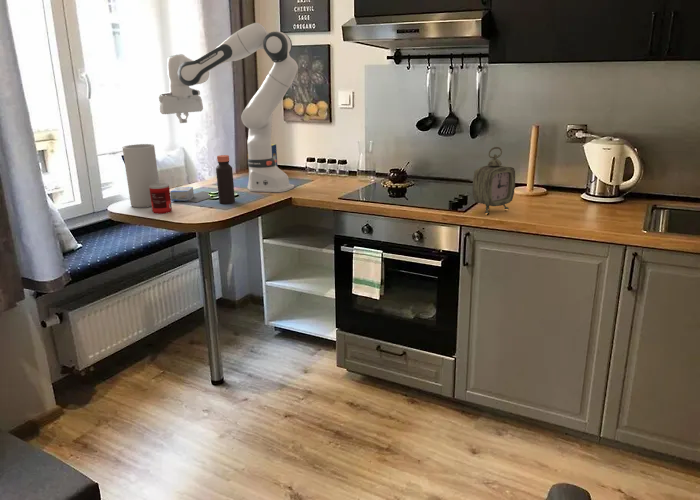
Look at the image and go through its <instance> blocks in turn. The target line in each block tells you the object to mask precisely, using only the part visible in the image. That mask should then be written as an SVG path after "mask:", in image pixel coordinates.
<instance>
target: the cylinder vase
mask: <svg viewBox="0 0 700 500" xmlns="http://www.w3.org/2000/svg"><path fill="white" fill-rule="evenodd" d="M155 148H156V147H155V144H151V143H140V144H138V143H137V144H136V143H135V144H129V145H124V146H122V153H123V159H124V166H125V172H126V173H125V174H126V180H127V181H126V182H127V187H128V194H129V201H130V202H129V203H130V206H132V207H133V208H136V209H137V208H138V209H139V208H140V209H144V208H146V209H147V208H152V204H151V197H150V189H149V186H150V185H153V184H159V183H160V179H159V172H158V164H157V157H156V149H155Z"/></svg>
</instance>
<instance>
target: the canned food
mask: <svg viewBox="0 0 700 500" xmlns="http://www.w3.org/2000/svg"><path fill="white" fill-rule="evenodd" d="M149 189H150V197H151V204H152V207H151V210H152V214H155V215H163V214H164V215H165V214H169V213H171V212H172V211H173V207H172V201H171V195H170V191H171V190H170V185H169V184H168V183H163V182H161V183H160V182H159V184H153V185H150V186H149Z"/></svg>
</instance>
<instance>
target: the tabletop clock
mask: <svg viewBox="0 0 700 500" xmlns="http://www.w3.org/2000/svg"><path fill="white" fill-rule="evenodd" d="M493 150H500V153H499V154H494V155H493V156H491V152H492V151H493ZM502 153H503V149H502V148H501V147H499V146H494V147H492V148H491V149H489V151H488V157H489V158H490V160H489V161H488V163H487V165H484V166H481V167H478V168H476V169H475V170H474V172H473V176H472V197H473V201H474V202H475V203H478V204H483V205H484V206H485V209H486V210H485V212H484V214H485V213H489V214H490V211H488V209H489V208H490V207H501V206H503V207H504V209H509V207H508V206H506V205H508V204H509V203H511V202H512V201H513V198H514V196H515V188H516V170H515V168H514V167H511V166H505V165H503V164H502V162H501V160H500V159H498V158H500V157H501V156H502ZM509 210H510V209H509Z"/></svg>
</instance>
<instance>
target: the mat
mask: <svg viewBox="0 0 700 500" xmlns="http://www.w3.org/2000/svg"><path fill="white" fill-rule="evenodd" d="M211 192H212V191H202V190H201V191H198V192H196V193H194V197H193V198H192V199H190V200H189V201H186V202H189V203H200V202H203V201H207V200H209V199H211V196H210V195H208V194H209V193H211Z"/></svg>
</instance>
